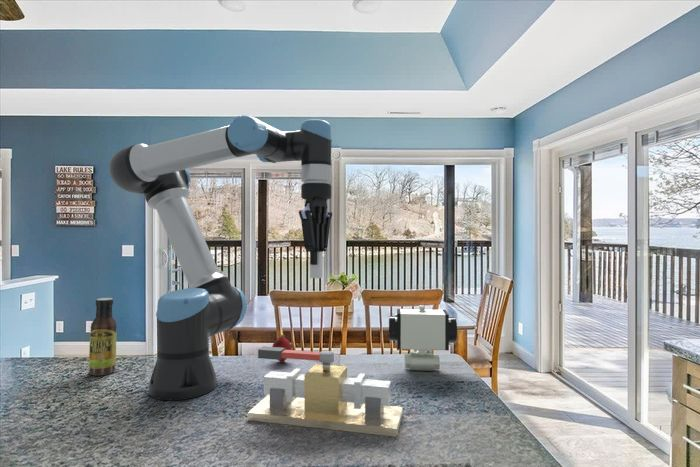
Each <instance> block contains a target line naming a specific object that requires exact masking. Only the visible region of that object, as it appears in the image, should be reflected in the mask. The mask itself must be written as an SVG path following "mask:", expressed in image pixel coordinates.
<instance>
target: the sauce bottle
mask: <svg viewBox="0 0 700 467" xmlns="http://www.w3.org/2000/svg"><path fill="white" fill-rule="evenodd" d="M113 304H114V299H113V298H112V297H100V298H96V299H95V306H96V307H95V308H96V309H95V318H94V319H93V321H92V322H91V324H90V332H89V352H88V354H89V355H88V368H89V369H88V371H89V372H88V373H89V374H90V375H91V376H105V375H106V376H107V375H110V374H112V373H114V372H115V370H116V362H117V336H118V335H117V334H118V333H117V322H116V320H115V318H114V317H113Z"/></svg>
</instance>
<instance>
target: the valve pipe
mask: <svg viewBox="0 0 700 467" xmlns="http://www.w3.org/2000/svg"><path fill="white" fill-rule="evenodd" d="M263 394H264V395H266V396H264V398H262V399H261V400H259V402H258V403H257V404H255V405H254V406H253V407H252V408H251V409H250V410H249V411H248V412H247V421H252V422H255V421H256V422H262V423H269V424H270V423H271V424H278V425H279V424H281V425H287V426H288V425H289V426H297V427H306V428H315V429H325V430H331V431H341V432H351V433H358V434H359V433H360V434H368V435H378V436H386V437H395V438H397V437H398V433H399V430H400V425H401V421H402V419H403V415H402V414H403V412H404V411H403V410H404V409H403V408H404V407H403V406H396V405H390V402H391V400H392V381H391V380H380V379H369V378H366V373H359V374H358V375H357V377H348V366H345V365H331V363H322V364H321V363H319V364H316V363H315V364H313V366H312V367H311V368H310V369H308V370H307V372H306V373H302V368H297V367H296V368H294V369H293V370H292V371H291V372H284V371H269V372H268V373H266V374H265V375H264V376H263Z"/></svg>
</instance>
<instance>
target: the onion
mask: <svg viewBox="0 0 700 467" xmlns="http://www.w3.org/2000/svg"><path fill="white" fill-rule="evenodd" d="M285 336H286V335H285V334H281V335H280V336H279V338H277V339H275V341H274V342H273V343H272V345H271V347H280V348H285V350H293V346H292V343H291V342H290V341H289V339H287V338H286V337H285ZM286 360H287V358H282V359H281V360H277V361H279V362H280V363H284V362H286Z"/></svg>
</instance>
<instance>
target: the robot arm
mask: <svg viewBox="0 0 700 467" xmlns="http://www.w3.org/2000/svg"><path fill="white" fill-rule="evenodd" d="M332 142H333V140H332V127H331V124H330V123H329V122H328V121H326V120H323V119H317V118H316V119H315V118H312V119H311V118H309V119H307V120H304V121H302V122H301V126H300V129H299V130H293V131H290V130H289V131H283V130H280V129H278V128H276V127H274V126H271V125H269V124H267V123H266V122H264V121H263V120H260V119H259V118H257V117H254V116H250V115H245V114H241V115H237V116H235V118H234V119H232V120H231V122H229V125H225V126H222V127H218V128H213V129H210V130H206V131H203V132H198V133H193V134H190V135H186V136H182V137H178V138H175V139H169V140H166V141H163V142H158V143H154V144H150V145H148V144H145V143H137V144H136V143H135V144H132V145H128V146H125V147H123V148H121V149H119V150H117V151H116V152H115V153H114V154H113V155H112V156H111V158H110V160H109V162H108V163H109V164H108V173H109V176H110V178H111V180H112V181H113V183H114V184H115V185H116V186H117V187H119V188H120V189H121V190H124V191H125V192H128V193H131V194H138V195H139V194H141V195H143V197H144V199H145V201H146V203H147V206H148V207H149V208H151V209H153V210H156V211H157V215H158V216H159V219H160V221H161V224H162V226H163V228H164V231H165V232H166V236H167V237H168V240H169V242H170V245H171V246H172V249H173V251H174V253H175V257H176V259H177V261H178V263H179V265H180V268H181V270H182V273H183V275H184V278H185V280H186V282H187V285H188V288H182V289H176V290H172V291H169V292H167V293H165V294H163V295H162V296H160V297H159V299H158V301H157V306H156V308H157V309H156V312H155V313H156V314H155V317H156V351H157V352H156V361H155V364H154V367H153V371H152V373H151V377H150V380H149V383H148V395H149V397H151V398H153V399H156V400H160V401H180V400H188V399H194V398H197V397H200V396H204V395H206V394H207V393H210V392H211V391H213V390H214V389H216V387H217V374H216V371H215V369H214V366H213V362H212V358H211V357H210V352H209V351H210V349H209V348H210V337H213V336H215V335H218V334H220V333H224V332H228V331H230V330H232V329H233V328H235V327H237V326H239V324H241V322H242V321H244V318H245V317H246V316H245V315H246V313H247V305H248V303H247V299H246V296H245V294H244V292H243V291H242V290H241V289H239V288H237V287H235V286H234V285H232V284H231V282H230V280H229V277H228V276H227V275H225V274H222V273H220V271H219V269H218V266H217V264H216V261H215V260H214V256H213V255H212V253H211V250H210V249H209V246H208V244H207V241H206V239H205V237H204V235H203V233H202V230H201V228H200V226H199V223H198V221H197V219H196V217H195V214H194V212H193V210H192V208H191V205H190V204H189V203H190V202H189V201H188V197H189V195H190V193H191V192H190V190H189V189H190V187H191V184H190V182H192V181H191V174H190V171H189V169H192V168H193V169H194V168H197V167H201V166H206V165H211V164H214V163H219V162H224V161H229V160H232V159H236V158H242V157H247V156H250V155H256V157H257V158H258V160H259V161H260V162H262V163H272V164H277V163H286V162H296V161H297V162H301V163H300V164H301V165H300V166H301V172H300V174H301V182H302V184H301V185H300V190H301V191H300V195H301V196H300V197H301V199H302V200H305V202H304V208H303V209H299V210H298V216H299V219H300V223H301V230H302V238H303V239H302V240H303V246H304V249H305V252H309V268H310V269H309V278H310V279H323V252H327V249H328V245H329V236H330V228H331V221H332V217H333V212H332V211H329V210H328V203H327V201H328V200H331V199H332V185H331V184H330V183H331V182H332Z"/></svg>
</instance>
